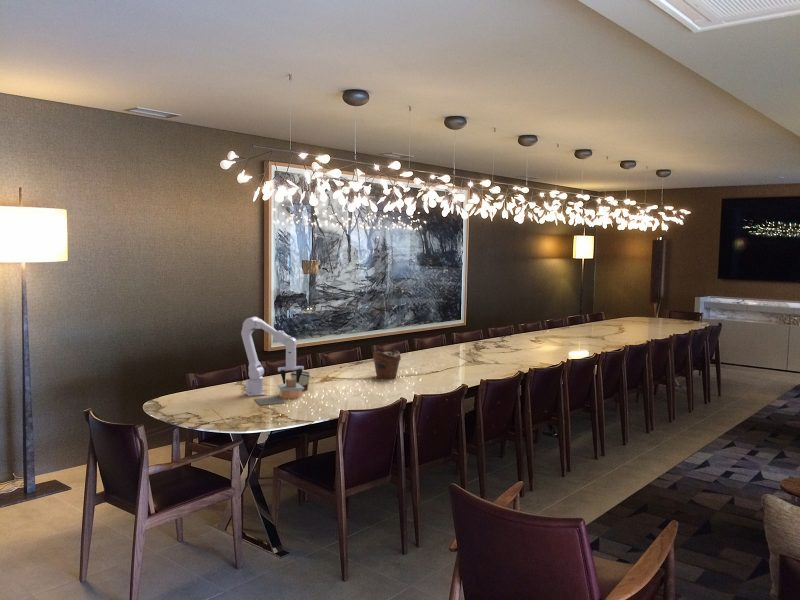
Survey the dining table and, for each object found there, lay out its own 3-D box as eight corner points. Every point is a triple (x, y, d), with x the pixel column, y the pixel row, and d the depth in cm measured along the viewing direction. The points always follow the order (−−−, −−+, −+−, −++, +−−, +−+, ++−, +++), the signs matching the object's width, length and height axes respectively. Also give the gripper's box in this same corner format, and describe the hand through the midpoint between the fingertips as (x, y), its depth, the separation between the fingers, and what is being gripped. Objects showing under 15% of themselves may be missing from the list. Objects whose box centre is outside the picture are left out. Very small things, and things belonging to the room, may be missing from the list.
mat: (260, 405, 343) (260, 404, 343) (254, 399, 355) (254, 398, 355) (285, 403, 349) (285, 402, 349) (279, 397, 361) (279, 396, 361)
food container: (313, 388, 385) (313, 371, 384) (309, 390, 379) (309, 373, 378) (294, 386, 388) (294, 370, 387) (290, 388, 382) (290, 372, 381)
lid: (283, 391, 357) (283, 382, 356) (277, 386, 367) (277, 378, 367) (304, 389, 362) (304, 380, 361) (298, 385, 373) (298, 376, 372)
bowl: (283, 399, 357) (283, 391, 357) (278, 394, 368) (278, 386, 368) (303, 397, 362) (303, 389, 362) (297, 392, 373) (297, 385, 372)
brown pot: (402, 374, 430) (402, 347, 428) (399, 380, 410) (399, 352, 409) (375, 373, 432) (375, 347, 430) (371, 380, 412) (371, 352, 410)
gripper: (280, 361, 357) (280, 385, 358) (305, 359, 363) (305, 383, 364) (276, 359, 363) (276, 382, 364) (301, 357, 369) (301, 380, 370)
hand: (290, 383), depth 365 cm, fingers open, 7 cm apart
